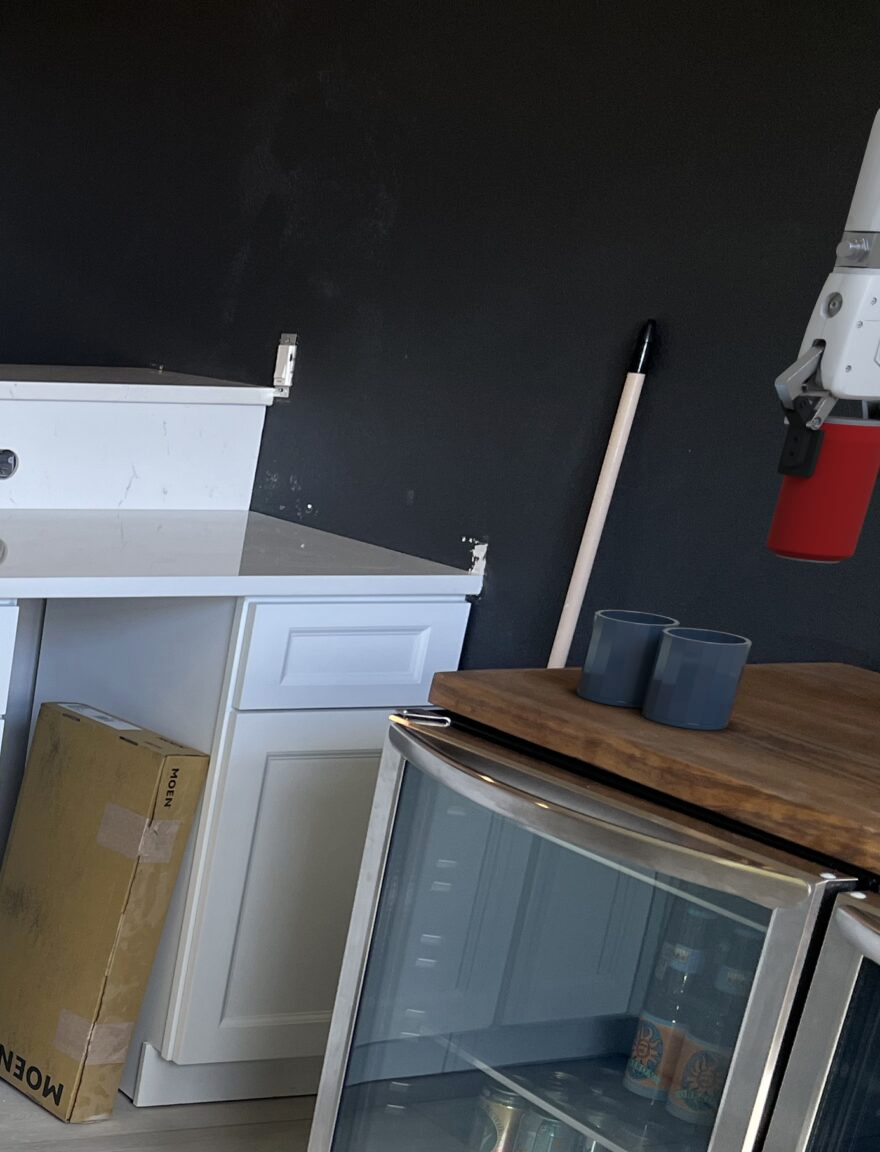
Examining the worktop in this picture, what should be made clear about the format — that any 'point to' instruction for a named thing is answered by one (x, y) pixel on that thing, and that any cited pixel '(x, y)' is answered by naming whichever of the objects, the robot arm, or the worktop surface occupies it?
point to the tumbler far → (621, 656)
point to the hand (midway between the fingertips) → (828, 474)
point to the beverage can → (829, 495)
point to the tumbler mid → (695, 678)
